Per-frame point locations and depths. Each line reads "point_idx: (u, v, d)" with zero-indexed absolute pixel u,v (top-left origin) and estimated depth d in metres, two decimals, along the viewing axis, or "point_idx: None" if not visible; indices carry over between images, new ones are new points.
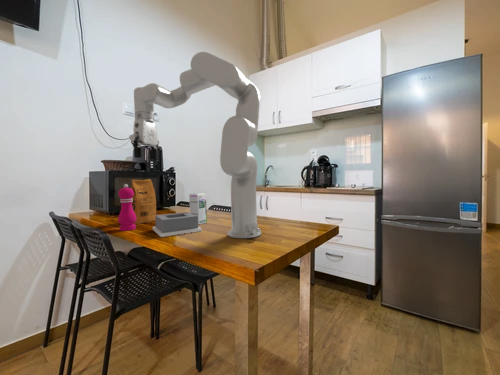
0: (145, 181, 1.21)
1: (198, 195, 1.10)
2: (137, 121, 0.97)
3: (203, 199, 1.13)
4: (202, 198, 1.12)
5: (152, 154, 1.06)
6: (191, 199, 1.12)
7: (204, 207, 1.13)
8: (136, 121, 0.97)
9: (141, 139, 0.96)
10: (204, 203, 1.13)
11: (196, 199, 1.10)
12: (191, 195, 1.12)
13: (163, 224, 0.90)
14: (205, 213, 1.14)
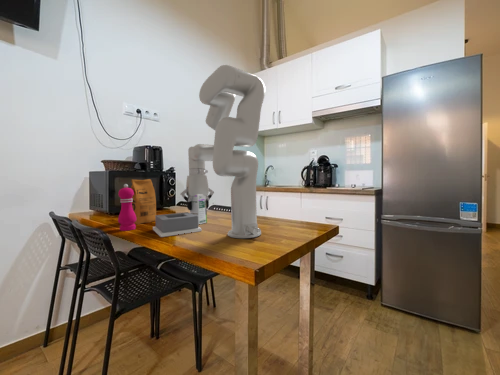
0: (145, 181, 1.21)
1: (198, 195, 1.10)
2: None
3: (203, 199, 1.13)
4: (202, 198, 1.12)
5: None
6: (191, 199, 1.12)
7: (204, 207, 1.13)
8: None
9: None
10: (204, 203, 1.13)
11: (196, 199, 1.10)
12: None
13: (163, 224, 0.90)
14: (205, 213, 1.14)
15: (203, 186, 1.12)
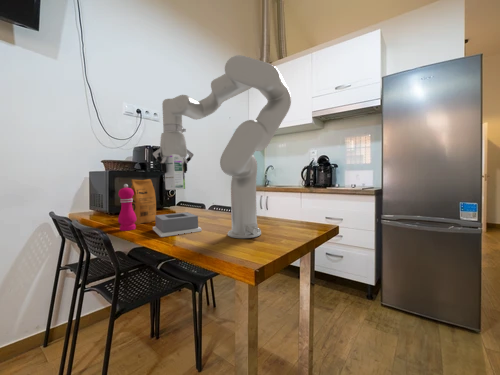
0: (145, 181, 1.21)
1: (174, 155, 0.95)
2: None
3: (180, 161, 0.97)
4: (179, 160, 0.97)
5: None
6: (166, 161, 0.96)
7: (181, 170, 0.98)
8: None
9: None
10: (181, 166, 0.98)
11: (171, 160, 0.95)
12: None
13: (163, 224, 0.90)
14: (183, 178, 0.98)
15: (180, 146, 0.97)
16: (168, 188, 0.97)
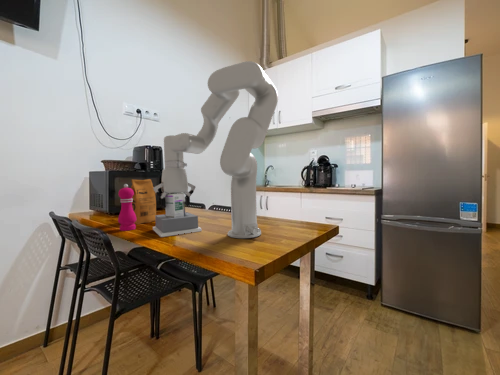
0: (145, 181, 1.21)
1: (174, 195, 0.95)
2: None
3: (181, 200, 0.98)
4: (179, 199, 0.97)
5: None
6: (167, 200, 0.97)
7: (182, 209, 0.98)
8: (185, 171, 1.00)
9: None
10: (182, 204, 0.98)
11: (172, 200, 0.95)
12: (167, 195, 0.97)
13: (163, 224, 0.90)
14: (183, 216, 0.99)
15: (181, 181, 0.98)
16: None
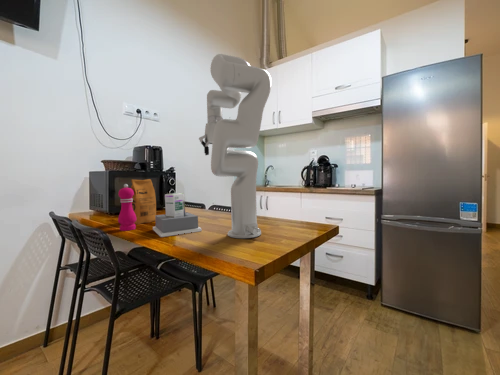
0: (145, 181, 1.21)
1: (174, 195, 0.95)
2: None
3: (181, 200, 0.98)
4: (179, 199, 0.97)
5: None
6: (167, 200, 0.97)
7: (182, 209, 0.98)
8: None
9: None
10: (182, 204, 0.98)
11: (172, 200, 0.95)
12: (167, 195, 0.97)
13: (163, 224, 0.90)
14: (183, 216, 0.99)
15: None
16: None
